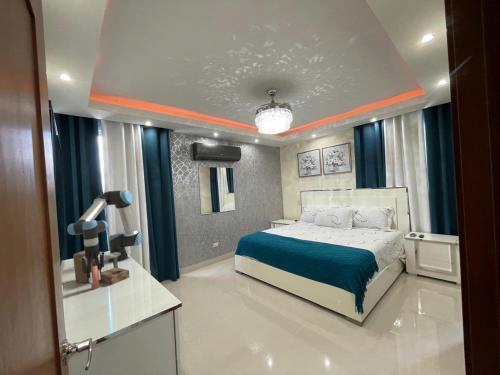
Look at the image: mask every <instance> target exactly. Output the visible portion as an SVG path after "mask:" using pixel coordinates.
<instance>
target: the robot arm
mask: <svg viewBox="0 0 500 375" xmlns="http://www.w3.org/2000/svg"><path fill="white" fill-rule="evenodd" d="M132 195H133V194H132V193H131V191H130V190H125V189H124V190H123V189H121V190H108V191H105V192H103V193H102V194H100V195H98V196H96V198H95V199H94V200H93V203H92V204H91V206H90V207H89V208H88V209H87V210H86V212H84V213H83V215H81V217H80V218H79V219H78V220H77V221H76V222H75V223H74V222H73V223H70V224H69V225H68V226H67V232H68V234H69V235H71V236H74V235H82V237H83V245H84V251H85V255H84V257H82V258H80V260H81V263H82V270H83V273H87V278H89V282H88V283H90V284H91V283H93V281H92V272H90V270H91V262H92V260H93V259H94V260H95V263H96V265H97V268H98V279H99V280H100V274H101V272H102V268H104V267H105V260H104V255H105V251H100V244H99V235H98V234H100V233H103V232H104V231H106V230H107V229H108V228H109V223H108V222H107V221H105V220H98V221H97V220H95V219H96V218H97V217H98V215H99V214H100V213H101V212H102V211H103V209H105V208H106V207H108V206H115V208H116V209H118V212H119V216H120V219H121V222H122V228H123V230H124V231H123V232H116V233H114V234H111V235H109V236H108V243H109V254H111V253H114V252H117V253H121V255H119V256H117V261H118V262H120V261H123V260H126V259H128V258H129V256H128V253H127V250H126V248H127V247H136V246H139V245H141V243H142V241H143V235H142V232H139V230H138V229H137V228H136V225H135V222H134V217H133V214H132V211H131V207H130V206H131V204H132V203H133V196H132ZM98 257H100V262H99V260H98V259H99V258H98ZM85 258H87V269H86V262H85ZM107 260H108V262H110V263H113V258H110V259H107Z"/></svg>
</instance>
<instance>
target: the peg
mask: <svg viewBox="0 0 500 375" xmlns="http://www.w3.org/2000/svg"><path fill="white" fill-rule="evenodd" d="M90 272H92V281H93V283H90V285H91V290H97V289H99V288H100V281H99V279H98V268H97V265H94V266H91V270H90Z"/></svg>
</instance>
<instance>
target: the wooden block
mask: <svg viewBox="0 0 500 375" xmlns="http://www.w3.org/2000/svg"><path fill="white" fill-rule="evenodd" d="M84 255H85V250H82V251H80V252H77V253H74V254H73V265H74V266H73V268H74V278H75V279H74V280H75V282H76V283H81V284H82V283H84V284H85V283H89V278H87V273H83V270H82V263H81V260H80V258H82V257H84ZM85 262H86V269H87V258H85ZM91 266H92V262H91Z"/></svg>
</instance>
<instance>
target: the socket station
mask: <svg viewBox="0 0 500 375" xmlns="http://www.w3.org/2000/svg"><path fill="white" fill-rule="evenodd" d="M119 255H121V253H117V252H114V253H111V254H110V253H107V254H104V261H107V260H108V259H110V258H113V262H112V264H113V267H112V268H109V269H106V270H104V271H101V274H100V280H99V282H102V283H104V284H108V285H114V284H116V283H120V282H122V281H124V280H127V279H129V278H130V270H129V269H125V268H120V267H119V264H118V263H119V261H117V256H119ZM98 258H99V259H98V260H99V263H100V256H98ZM94 265H96V263H95V260H94V259H93V260H92V266H94Z"/></svg>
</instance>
